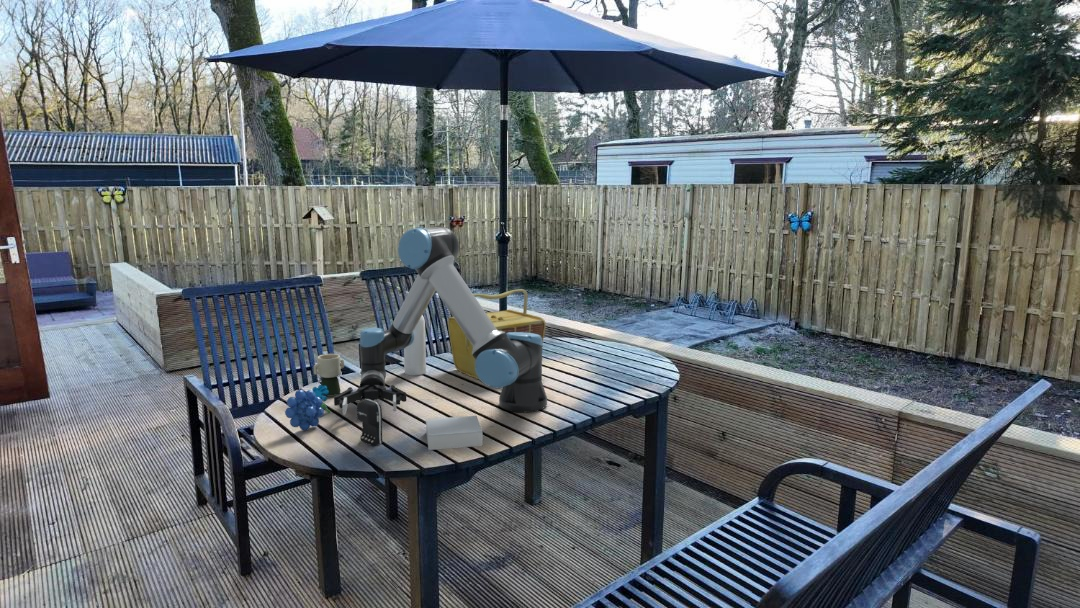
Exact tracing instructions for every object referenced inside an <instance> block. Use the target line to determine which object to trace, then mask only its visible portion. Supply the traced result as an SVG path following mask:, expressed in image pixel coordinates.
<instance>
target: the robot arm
mask: <svg viewBox="0 0 1080 608" xmlns="http://www.w3.org/2000/svg"><path fill="white" fill-rule="evenodd" d="M459 252H460V242H459V239H458V237H457V235H456V234H455V233H454V231H452V230H451V229H449V228H448V227H447V226H446V227H445V226H440V225H437V226H431V227H430V226H429V227H427V226H426V227H421V226H417V227H415V228H410V229H408V230H406V231H405V232H404V233H403V234H402V235H401V237H400V239H399V241H398V247H397V254H398V257H399V260H400V261H401V263H402V264H403V265H404V266H405V267H407V268H409V269H412V270H415V271H416V272H417V276H416V278H415V280H414V281H413V284H412V285H411V287H410V288H409V291H408V292H407V295H406V296H405V298H404V300H403V303H402V305H401V306H400V308H399V310H398V311H397V313H396V316H395V318H394V320H393V321H392V323H391V325H390V326H389V329H387V330H384V329H383V328H380V327H370V328H363V329H362V330H361V331H360V334H359V345H360V346H359V349H360V371H361V378H360V381H359V386H358V388H357V389H354V388H353V387H351V386H350V387H348V388H347V389H346V390H344V391H341V392H340V393H339V394H337V395H334V396H333V405H334V407H335V406H336V407H338V406H339V409H341V410H342V415H346V414H347V409H348V405H350V404H353V403H355V402H357V401H359V402H360V401H363V400H365V399H371V400H374V401H376V400H387V401H390V402H393V403H392V405H393V406H392V408H393V409H392V410H393V412H396V411H397V405H399V406H400V405H401V401H402V402H403V403H405V402H407V392H406V391H403V390H401V389H400V388H398V387H396V385H394V384H392V385H390V386H389V387H386V378H387V372H386V355H389V354H391V353H393V352H397V351H399V350H404V348H406V347H407V346H409V345H411V344H412V342H413V341H414V333H413V331H414V329H415V327H416V325H417V324H418V322H419V320H420V318H421V316H422V315H423V314H424V312H425V311H426V309H427V307H428V305H429V303H430V301H431V300H432V298H433V296H434V294H435V292H436V293H437V294H438V296H439V298H440V299H441V301H442V302H443V305H445V307H446V308H447V310H448V311H449V313H450V314H451V317H454V319H455V320H456V322H457V323H458V325H459V326H460V328H461V329H462V331H463V332H464V334H465V335H466V337H467V338H468V340H469V341H470V343H471V344H472V346H473V351H472V355H473V357H474V358H475V360H476V361H475V365H476V367H475V371H476V374H477V376H478V378H479V379H478V380H480V381H481V382H482V383H483V384H484V385H486V386H488V387H490V388H493V389H494V388H495V389H501V392H500V394H499V396H498V397H499V398H498V406H499V407H500V409H501V408H502V409H503V410H506V411H509V412H512V413H513V412H514V413H531V412H532V411H533V412H537V410H538V411H540V410H539V409H541V410H543V409H544V408H543V407H545V406H546V405H548V397H547V393H546V389H545V387H544V384H543V377H542V376H543V374H542V373H543V344H542V338H541V336H540V335H538V334H533V333H524V332H509V333H505V332H503V331H498V330H497V329H496V327H495V326H494V324H493V323H492V321H491V320H490V319H489V317H488V316H487V314H486V313H487V312H486V311H485V309H484V308H483V307H482V305H481V303H479V301H478V299H477V297H475V296H474V295H473V294H474V293H473V292H472V290H471V289H470V287H469V286H468V285H467V283H466V282H465V280H464V278H463V277H462V276H461V274H460V272H459V271H458V270H457V268H456V266H455V263H456V261H457V259H458V257H459ZM423 316H424V315H423ZM546 407H547V406H546ZM546 407H545V408H546ZM542 408H543V409H542Z"/></svg>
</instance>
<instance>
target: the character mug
mask: <svg viewBox="0 0 1080 608" xmlns="http://www.w3.org/2000/svg"><path fill="white" fill-rule="evenodd" d="M316 359H317V363H316V364H314V365H313V374H314V375H318V376H319V377H320V378H321V379H320V380H321V381H320V382H321V383H320V385H322V386H324V385H325V386H326V387H327V390H328V391H329V392H328V394H327V395H326V394H324V395H323V396H326V397H327V396H331V397H332V396H337V395H338V394H340V393H341V386H340V381H339V376H340V375H341V373H342V371H341V369H344V368H345V360H344V358H341V356H340V354H338V353H326V354H320V355H318V356H317V358H316ZM324 391H325V390H324Z"/></svg>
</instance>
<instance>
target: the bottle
mask: <svg viewBox="0 0 1080 608" xmlns="http://www.w3.org/2000/svg"><path fill="white" fill-rule="evenodd" d="M413 333H414V341H413V342H412V344H411V345H409V346H407V347H406V348H404V349H403V354H404V355H403V358H404V361H403V362H404V365H403V367H404V374H405V375H407V376H422V375H425V374H426V373H427V361H426V359H427V356H426V355H427V354H426V352H427V351H426V349H427V348H426V320H425V317H424V315H422V316H421V318H420V320H419V322H418V324H417V325H416V327H415V329H414V331H413Z"/></svg>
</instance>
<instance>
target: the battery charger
mask: <svg viewBox="0 0 1080 608" xmlns="http://www.w3.org/2000/svg"><path fill="white" fill-rule="evenodd" d="M382 411H383V410H382V405H381V403H380V402H379V401H376V400H371V399H364V400H362V401H359V402H357V404H356V420H357V421H359V422H361V424H362V431H361V434H360V438H359V439H360V442H362V443H363V444H366V443H367V445H369V446H372V447H373V446H378V445H382V443H383V412H382Z"/></svg>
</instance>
